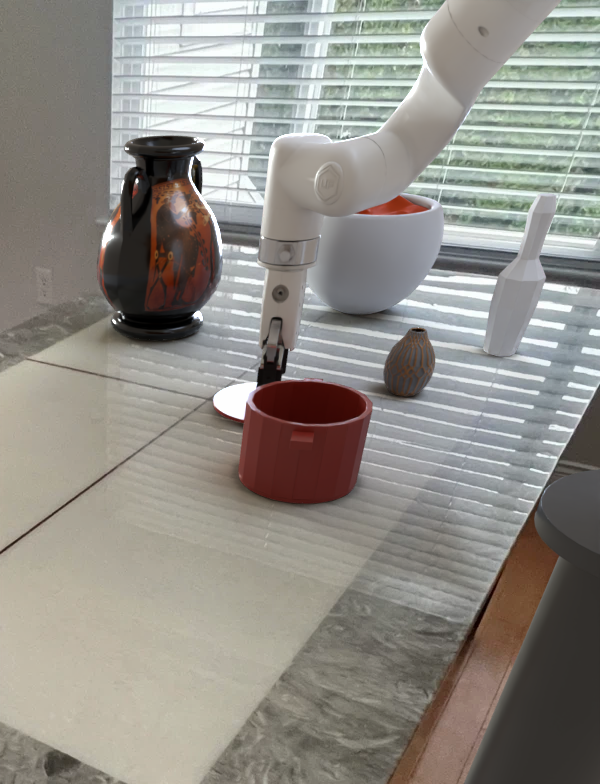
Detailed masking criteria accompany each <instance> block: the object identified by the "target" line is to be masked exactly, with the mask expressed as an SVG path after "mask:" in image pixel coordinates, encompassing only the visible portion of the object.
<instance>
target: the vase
mask: <svg viewBox="0 0 600 784" xmlns="http://www.w3.org/2000/svg"><path fill="white" fill-rule="evenodd" d="M435 368H436V352H435V348H434V346H433V344H432V343H431V340H430V338H429V334H428V330H427V329H426V328H424V327H420V326H415V327H410V328H409V329H408V331H407V332H406V334H405V335H404V336H403V337H401V339H399V340H398V341H397V342H396V343H395V344H394V345H393V346H392V348H391V349H390V351H389V353H388V354H387V356H386V359H385V361H384V365H383V372H382V373H383V376H382V377H383V382H384V385H385V387H386V389H387V390H388V392H389V393H391V394H393V395H396V396H399V397H412V396H416V395H417V394H419V393H420V392H422V391H423V390H424V389H425V388H427V386H428V384H429V383H430V381H431V379H432V377H433V374H434V372H435Z"/></svg>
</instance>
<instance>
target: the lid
mask: <svg viewBox="0 0 600 784" xmlns="http://www.w3.org/2000/svg"><path fill="white" fill-rule="evenodd" d="M256 384H257V381H256V382H245V383H239V384H234V385H230V386H228V387H227V386H226V387H225V388H223V389H220V390H219V391H218V392H217V393H216V394H214V396H213V398H212V407H213V409H214V410H215V411H216V413H218V414H219V415H221V416H222V417H223V418H226V419H228V420H230V421H233V422H237V423H240V424H244V418H245V409H246V401H247V398H248V395H249V393H250V392H252V391H253V390H254V389H256Z"/></svg>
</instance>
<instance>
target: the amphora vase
mask: <svg viewBox="0 0 600 784" xmlns="http://www.w3.org/2000/svg"><path fill="white" fill-rule="evenodd" d="M206 146H207V145H206V142H205V141H204V140H203V139H202V138H199V137H196V136H191V135H190V136H189V135H173V134H172V135H150V136H141V137H136V138H131V139H130V140H127V141H126V142H125V144H124V146H123V150H124V152H125V153H126V154H127V155H129V156H131V157H132V158H134V160H135V166H132V167H129V169H127V170H126V172H125V174H124V177H123V180H122V182H121V190H120V197H119V199H120V201H119V203H117V205H116V207H115V208H114V209H113V211H112V212H111V214H110V216H109V218H108V219H107V222H106V224H105V227H104V228H103V231H102V235H101V238H100V240H99V241H100V242H99V243H98V244H99V245H98V250H97V257H96V280H97V282H98V286H99V289H100V291H101V293H102V294H103V296H104V298H105V300H106V301H107V303H108V304H109V306H111V308H112V309H113V310H114V312H113V314H112V315H111V318H110V326H112V329H113V330H114V331H115V332H117V333H119V335H122V336H124V337H126V338H130V339H134V340H140V341H150V342H152V341H154V342H155V341H157V342H162V341H172V340H177V339H178V340H179V339H182V338H186V337H189V336H191V335H192V334H196V332H198V331H199V330H200V328H202V326H203V324H204V316H203V314H202V313H201V312H200V311H201V310H202V309H203V307H204V306H205V305H206V304H208V302H209V301H210V300H211V298H212V297H213V296H214V295H215V292H216V291H217V290H218V287H219V285H220V282H221V279H222V273H223V265H224V260H223V259H224V258H223V244H222V242H223V241H222V236H221V231H220V228H219V225H218V222H217V218H216V217H215V214H214V213H213V211H212V209H211V208H210V206H209V205H208V204H207V202H206V200H204V198H203V197H202V194H203V193H202V192H203V182H204V181H203V166H202V162H201V159H200V158H199V157H198V155H199V154H201V153H204V151H205V150H206Z"/></svg>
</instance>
